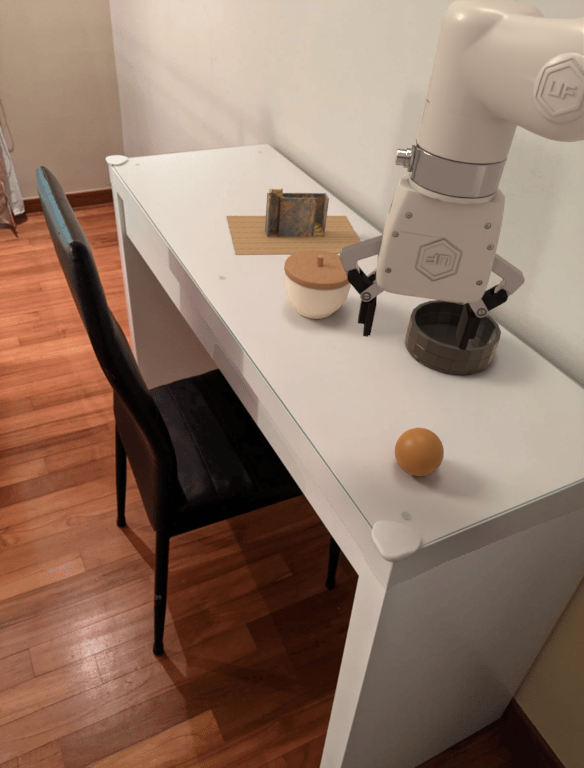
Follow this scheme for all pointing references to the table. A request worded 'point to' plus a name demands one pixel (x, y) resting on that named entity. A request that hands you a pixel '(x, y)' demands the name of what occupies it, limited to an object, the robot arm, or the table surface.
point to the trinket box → (315, 283)
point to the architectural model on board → (291, 226)
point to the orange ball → (419, 451)
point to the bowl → (449, 339)
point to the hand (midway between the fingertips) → (413, 335)
